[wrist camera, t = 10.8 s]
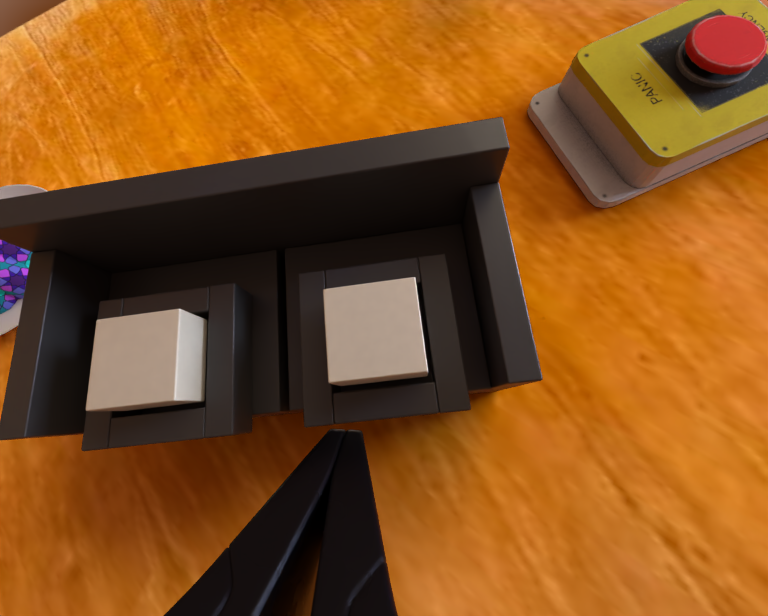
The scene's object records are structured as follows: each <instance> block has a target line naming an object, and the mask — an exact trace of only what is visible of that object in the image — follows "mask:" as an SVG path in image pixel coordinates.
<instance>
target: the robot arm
mask: <svg viewBox="0 0 768 616" xmlns="http://www.w3.org/2000/svg"><path fill="white" fill-rule="evenodd" d="M164 616H398V615H397V611H396V606H395V602H394V597H393V593H392V588H391V583H390V578H389V573H388V567H387V563H386V557H385V552H384V546H383V541H382V536H381V530H380V525H379V519H378V514H377V509H376V503H375V498H374V492H373V487H372V481H371V476H370V471H369V465H368V460H367V454H366V449H365V443H364V438H363V433H362V431H361V430H347V431H345V430H344V429H330V430H329V431H328V432H327V433H326V434H325V435H324V436H323V438H322V439H321V440H320V441H319V442H318V443H317V444H316V446H315V447H314V448H313V449H312V450H311V451H310V453H309V454H308V455H307V456H306V457H305V458H304V459H303V461H302V462H301V463H300V464H299V465H298V466H297V468H296V469H295V470H294V471H293V472H292V473H291V474H290V476H289V477H288V478H287V479H286V480H285V481H284V483H283V484H282V485H281V486H280V487H279V488H278V489H277V491H276V492H275V493H274V494H273V495H272V496H271V498H270V499H269V500H268V501H267V502H266V503H265V504H264V506H263V507H262V508H261V509H260V510H259V511H258V513H257V514H256V515H255V516H254V517H253V518H252V519H251V521H250V522H249V523H248V524H247V525H246V526H245V528H244V529H243V530H242V531H241V532H240V533H239V534H238V536H237V537H236V538H235V539H234V540H233V541H232V543H231V544H230V545H229V548H226V549H225V550H224V551H223V553H222V554H221V555H220V556H219V557H218V558H217V560H216V561H215V562H214V563H213V564H212V565H211V566H210V567H209V569H208V570H207V571H206V572H205V573H204V574H203V575H202V576H201V577H200V579H199V580H198V581H197V582H196V583H195V584H194V585H193V586H192V587H191V588H190V589H189V590H188V591H187V592H186V594H185V595H184V596H183V597H182V598H181V599H180V600H179V601H178V602H177V603H176V604H175V605H174V606H173V607H172V608H171V609H170V610H169V611H168V612H167V613H166V614H165V615H164Z"/></svg>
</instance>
